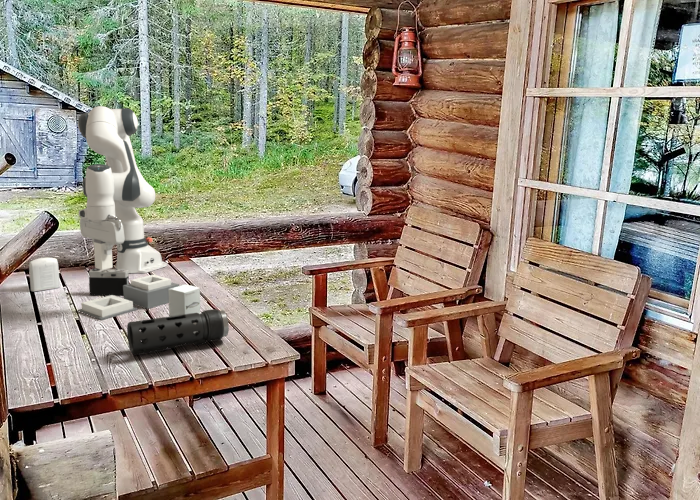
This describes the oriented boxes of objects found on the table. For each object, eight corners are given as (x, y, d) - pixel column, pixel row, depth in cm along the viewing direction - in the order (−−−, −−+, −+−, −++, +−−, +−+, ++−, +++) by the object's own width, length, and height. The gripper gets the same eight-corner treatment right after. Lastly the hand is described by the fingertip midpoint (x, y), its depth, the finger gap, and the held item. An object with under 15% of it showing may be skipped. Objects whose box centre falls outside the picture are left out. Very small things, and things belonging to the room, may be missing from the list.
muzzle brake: (128, 350, 174) (126, 317, 172) (219, 335, 188) (219, 304, 186) (134, 362, 166) (132, 327, 164) (230, 345, 180) (229, 313, 178)
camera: (134, 290, 231) (133, 265, 228) (124, 297, 222) (123, 272, 219) (99, 289, 231) (97, 264, 229) (88, 296, 222) (86, 270, 220)
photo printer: (57, 285, 233) (55, 255, 231) (61, 288, 230) (59, 257, 228) (29, 290, 226) (26, 258, 224) (32, 292, 223) (30, 261, 221)
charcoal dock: (155, 292, 229) (154, 272, 227) (179, 299, 221) (178, 279, 219) (123, 301, 217) (122, 280, 216) (148, 308, 210) (147, 287, 208)
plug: (105, 265, 206) (104, 237, 203) (112, 267, 203) (111, 239, 201) (95, 267, 202) (93, 239, 200) (102, 269, 200) (100, 240, 198)
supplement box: (184, 329, 191) (183, 292, 188) (168, 325, 195) (167, 288, 192) (201, 323, 198) (200, 287, 195) (185, 319, 201) (184, 283, 198)
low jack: (113, 301, 216) (112, 293, 215) (137, 309, 208) (136, 301, 208) (77, 311, 205) (76, 303, 204) (101, 320, 197) (101, 311, 196)
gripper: (128, 216, 196) (130, 256, 199) (92, 209, 207) (94, 247, 210) (111, 218, 191) (113, 259, 194) (75, 210, 202) (77, 250, 205)
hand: (103, 253), depth 202 cm, fingers closed on plug, 4 cm apart
